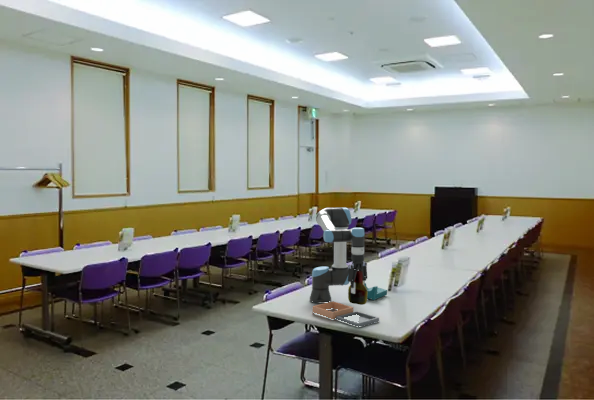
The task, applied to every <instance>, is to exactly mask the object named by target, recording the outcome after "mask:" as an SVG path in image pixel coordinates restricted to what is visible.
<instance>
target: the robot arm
mask: <svg viewBox="0 0 594 400" xmlns="http://www.w3.org/2000/svg"><path fill="white" fill-rule="evenodd" d="M315 220H316V223H317V225H318V226H320V227H321V229H322V231H323V235H322V237H323V241H324V242H325V243H333V264H332V265H331V268H330V267H329V266H323V265H322V266H318V267H314V268H313V269H312V271H311V293H310V295H309V302H310V301H313V302H329V301H331V302H332V296H331V292H330V286H331V287H332V286H347V285H349V284H350V285H351V293H353V294H355V282H354V281H355V277H356V273H357V271H358V270H360V271H362V276H363V285H365V283H366V281H367V279H368V271H367V270H368V268H367V266H368V263H367V262H365V234H366V233H365V228H363V227H352V228H350V229H348V228H349V225H351V224H352V214H351V211H350V209H349V208H348V207H325V208H322V209H321V210H319V211H318V212H317V214H316V216H315ZM347 243H351V249H350V250H351V254H350V255H351V259H350V260H351V261H352V263H351V264H347ZM313 302H312V303H313Z"/></svg>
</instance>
